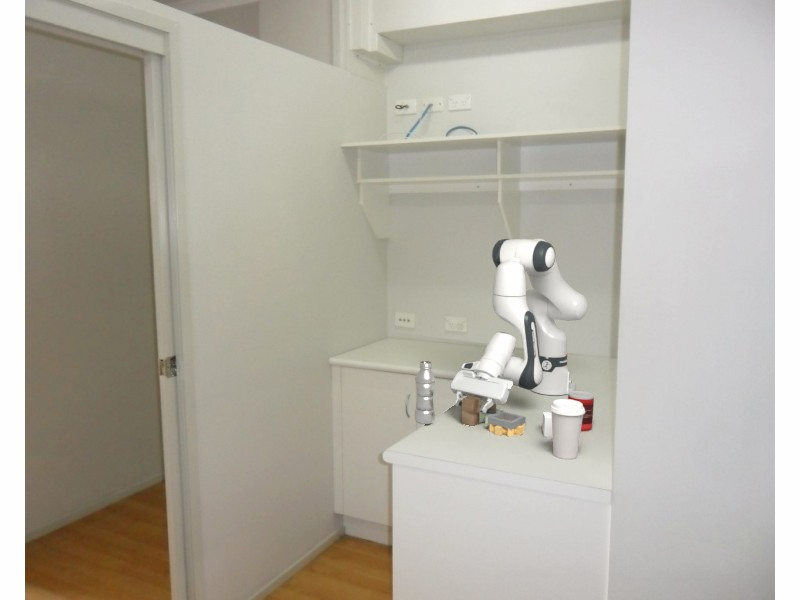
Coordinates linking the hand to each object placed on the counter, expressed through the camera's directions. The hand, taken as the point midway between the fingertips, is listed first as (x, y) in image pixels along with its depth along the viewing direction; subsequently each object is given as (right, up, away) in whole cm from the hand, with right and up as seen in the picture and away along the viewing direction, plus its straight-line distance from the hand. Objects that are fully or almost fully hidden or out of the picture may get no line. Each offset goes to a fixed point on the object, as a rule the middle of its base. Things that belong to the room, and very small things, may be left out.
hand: (469, 408), depth 201 cm
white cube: (+25, -7, -7) cm, 27 cm away
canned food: (+35, -6, 0) cm, 35 cm away
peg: (0, -5, +1) cm, 5 cm away
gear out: (+11, -6, -4) cm, 13 cm away
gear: (+8, -5, +6) cm, 11 cm away
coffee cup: (+24, -9, -24) cm, 35 cm away
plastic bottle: (-14, -5, +1) cm, 15 cm away
